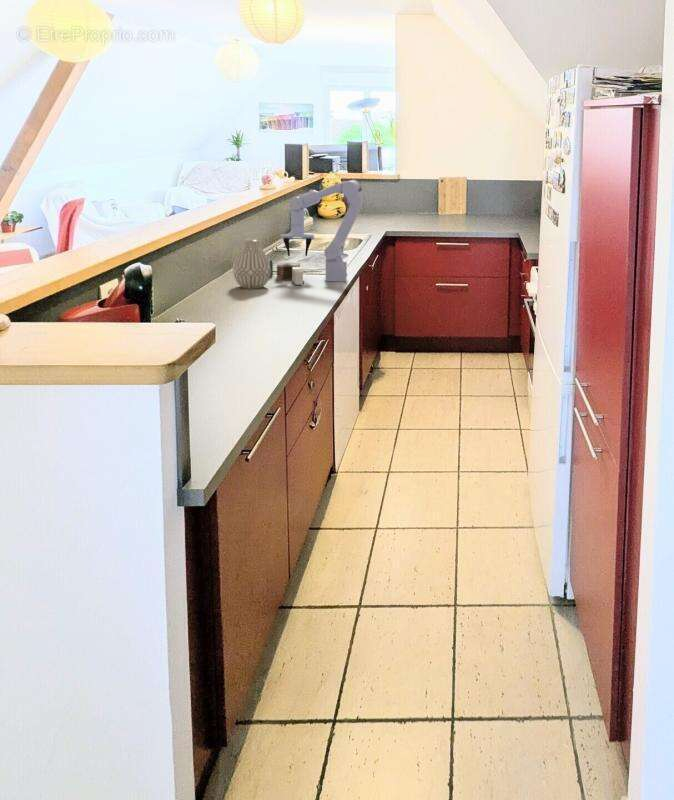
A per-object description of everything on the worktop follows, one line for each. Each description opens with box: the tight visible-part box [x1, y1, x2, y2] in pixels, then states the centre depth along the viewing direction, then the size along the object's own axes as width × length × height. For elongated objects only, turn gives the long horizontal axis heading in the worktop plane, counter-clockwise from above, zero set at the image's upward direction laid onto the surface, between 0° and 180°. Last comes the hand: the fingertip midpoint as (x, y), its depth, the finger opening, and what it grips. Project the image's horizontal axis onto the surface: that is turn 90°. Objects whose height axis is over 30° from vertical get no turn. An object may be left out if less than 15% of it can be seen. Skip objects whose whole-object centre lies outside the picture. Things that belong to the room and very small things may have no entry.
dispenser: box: [276, 261, 301, 281], centre depth 437 cm, size 10×8×7 cm
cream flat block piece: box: [291, 267, 304, 286], centre depth 425 cm, size 3×12×6 cm, turn 10°
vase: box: [232, 238, 271, 290], centre depth 413 cm, size 16×16×20 cm
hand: (297, 255), depth 437 cm, fingers open, 7 cm apart
